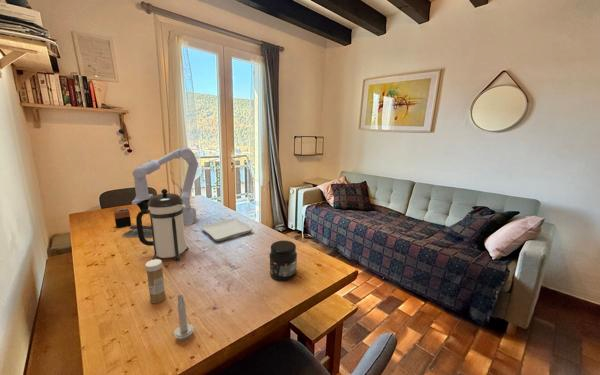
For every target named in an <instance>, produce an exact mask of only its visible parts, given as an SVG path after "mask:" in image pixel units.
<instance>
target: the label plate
mask: <svg viewBox="0 0 600 375" xmlns="http://www.w3.org/2000/svg"><path fill="white" fill-rule="evenodd" d="M143 234H144V238H145V239H146V238H147V239H153V236H152V230H145V229H143ZM121 236H122V238H138V239H139V237H138V231H137V229H129V231H127V232H124V233H123V234H121Z"/></svg>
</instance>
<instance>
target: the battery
mask: <svg viewBox="0 0 600 375" xmlns="http://www.w3.org/2000/svg"><path fill="white" fill-rule="evenodd" d="M113 215H114V223H115V227H116V228H117V229H122V228H127V226H128V227H130V226H132V221H131V220H132V219H131V214H130V210H129V208H127V207H124V208H122V209H115V210H114V211H113Z"/></svg>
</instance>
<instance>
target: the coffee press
mask: <svg viewBox="0 0 600 375" xmlns="http://www.w3.org/2000/svg"><path fill="white" fill-rule="evenodd" d="M148 200H149V202H148V206H149V207H148V210H142V211H141V210H140V211H139V212H138V213H137V214H136V218H135V219H136V220H135V222H136V223H135V224H137V231H138V237H139V238H138V237H137V238H138V239H139V241H140V242H141V243H142V244H143V245H145V246H153V252H154V254H153V257H152V259H151V260H154V259H159V260H160V258H161V259H168V258H174V259H175V261H176V262H179V261H180V260H181V256H180V255H181V254H183V253H184V252H185V251H188V250H189V247H188V245H187V244H186V236H185V226H184V223H183V208H185V205H184V203H183V202H182V199H181V197H180V195H179V194H176V193H168V190H167V189H166V188H163V189H161V193H159V194H156V195H153V197H151V198H149V199H148ZM148 214H149V217H150V218H149V219H150V225H151V228H152V236H153V237H152V240H147V239H146V238H144V234H143V227H142V224H143V219H142V218H143V216H144V215H148ZM156 256H157V257H156Z"/></svg>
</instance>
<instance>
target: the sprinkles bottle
mask: <svg viewBox="0 0 600 375" xmlns="http://www.w3.org/2000/svg"><path fill="white" fill-rule="evenodd" d="M144 267H145V270H146V273H147V274H146V275H147V276H146V277H147V284H148V292H149V293H148V294H149V302H150V303H151V304H159V303H161V302H163V301H165V299H166V296H167V295H166V292H165V289H166V288H165V281H164V273H163V260H161V259H160V258H159V259H156V258H154V260H152V259H151V260H148V261H147V262H146V263H145V265H144Z"/></svg>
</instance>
